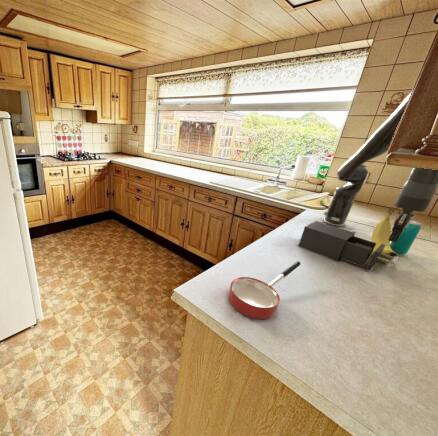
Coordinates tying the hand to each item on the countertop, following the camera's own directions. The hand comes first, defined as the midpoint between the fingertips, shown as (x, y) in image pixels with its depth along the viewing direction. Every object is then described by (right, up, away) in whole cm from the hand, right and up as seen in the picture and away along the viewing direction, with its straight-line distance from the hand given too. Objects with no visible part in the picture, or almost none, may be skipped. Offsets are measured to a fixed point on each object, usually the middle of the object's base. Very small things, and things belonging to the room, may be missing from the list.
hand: (392, 241), depth 84 cm
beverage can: (+21, -7, +19) cm, 29 cm away
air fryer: (-12, -5, +18) cm, 22 cm away
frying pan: (-51, -15, -10) cm, 54 cm away
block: (-5, -8, +9) cm, 13 cm away
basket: (-4, -9, +9) cm, 13 cm away
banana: (+9, -8, +14) cm, 19 cm away
